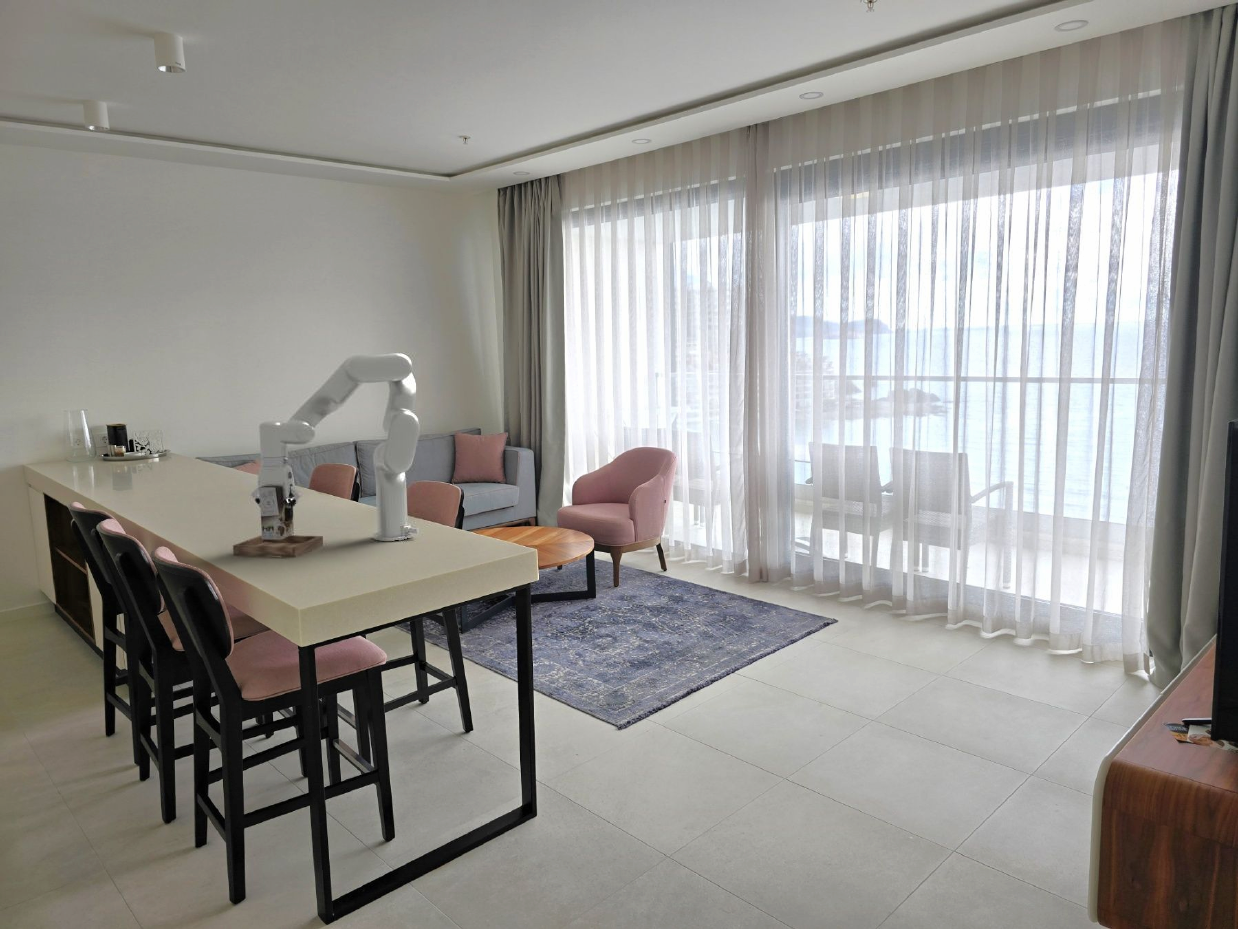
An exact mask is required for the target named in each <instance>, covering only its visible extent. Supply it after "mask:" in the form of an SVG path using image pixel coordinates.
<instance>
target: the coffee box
mask: <svg viewBox="0 0 1238 929" xmlns="http://www.w3.org/2000/svg"><path fill="white" fill-rule="evenodd" d="M259 508H260V524H261V526H260V527H261V528H260V529H261V535H262V539H274V540H281V539H284V538H286V537H288V536H290V535H294V533H295V530H294V529H295V528H294V519H293V520H290V521H285V508H286V506H285V502H284V499H283V489H282V486H262V487H260V507H259Z"/></svg>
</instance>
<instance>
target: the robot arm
mask: <svg viewBox="0 0 1238 929" xmlns="http://www.w3.org/2000/svg"><path fill="white" fill-rule="evenodd" d="M412 371H413V363H412V360H411V359H410V357H408V355H406V354H404V353H400V352H390V353H384V354H373V355H372V354H371V355H351V356H348V358H345V360H344V361H343V362H342V363H341V364H340V366H338V368H337V369H336V370H335V371H334V372H333V373H332V374H331V375H330V376H329V378H328V379H327V380H326V381H324V383H323V384H322V385H321V386H320V387H319V389H317V390H316V391H315V392H314V393H313V394H312V395H311V396H310V397H309V399H307V400H306V401H305V402H304V403H303V404H302V405H301V406H300V407H299V408H298V409H297V410H296V412H294V414H292V416H291V417H290V418H289V420H288V421H286V422H283V421H278V420H277V421H275V420H273V421H272V420H271V421H270V420H269V421H263V422H260V424H259V427H258V428H259V431H258V433H259V448H260V464H261V466H259V468H258V475H257V487H256V489H255V490H253V491H252V492H251V493H250V496H251V497H252V498H253V499H254V502H255V503H256V504H257V505H258V506H259V508H260V487H262V486H282V489H283V499H284V502H285V506H286V508H285V521H290V520H293V521H294V507H295V506H296V504H297V503H298V502H299V501H300V499H301V498H302V497H303V495H302V493H300V491H298V490H297V488H296V484H295V477H294V472H293V469H292V467H291V465H289V464H291V463H292V458H289V455H288V445H293V446H305V445H308V444H310V443H311V442H312V441H313V440H314V439H315V435H316V431H315V428H316V427H317V426H318V425H319V424H320V423H321V422H322V421H323V420H324V419H325V418H326V417H328V415H330V414H332V413H334V412H336V411H338V410H340V408H342V407H343V406H344V405H345V404H346V402H347V401H348V400H349V399H350V398H351V397H352V395H354V393H355V392H356V391H357V390H358V389H359V388H360V387H361V385H363V384H373V383H374V384H375V383H384V382H387V384H388V388H389V389H388V390H389V391H388V392H389V393H388V399H387V400H388V401H387V404H386V408H385V413H384V416H383V417H384V418H383V420H382V429H383V431H384V433H385V434H386V435H387V438H386V441H383V442H381V443H380V444H378V445H377V446H376V447H375V449H374V451H373V455H372V456H373V457H372V461H373V463H372V464H373V468H374V475H375V495H376V499H375V500H376V516H377V517H376V519H377V520H376V522H377V523H376V524H377V532H376V533H374V534H373V535H372V539H373V540H376V541H378V540H379V541H380V542H396V541H395V540H399V541H404V539H405V540H408V539H407V538H409V539H411V538H413V536H414V534H419V532H420V527H419V526H412V525H411V522H409V521H408V498H407V497H408V496H407V494H408V493H407V479H406V478H407V477H406V472H407V471H408V470H409V469H410V468H411V466H412V464H413V462H414V458H415V456H416V455H415V454H416V448H417V445H418V441H419V440H418V439H419V436H420V429H421V428H420V427H421V425H420V420H419V418H418V416H417V415H416V414H415V413H414V411H415V406H416V401H417V400H416V399H417V392H418V391H417V384H416V379H415V378H414V375H413V373H412Z"/></svg>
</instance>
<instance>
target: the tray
mask: <svg viewBox="0 0 1238 929" xmlns="http://www.w3.org/2000/svg"><path fill="white" fill-rule="evenodd" d="M323 546H324V538H323V535H302V534H301V535H299V534H295V535H294V534H292V535H290V536H288V537H286V538H284V539H281V540H274V539H262V534H261V535H258V536H255V537H253V538H249V539H247V540H244V541H241V542H239V543H235V544H234V545H232V551H233V553H232V554H233V556H239V555H246V556H245V557H267V556H281V557H280V558H298V557H300V556H303V555H304V553H305V554H307V553H309V552H312V551H314V550H316V549H318V547H319V548H320V547H323ZM313 549H314V550H313ZM302 554H303V555H302ZM297 556H298V557H297Z"/></svg>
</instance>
